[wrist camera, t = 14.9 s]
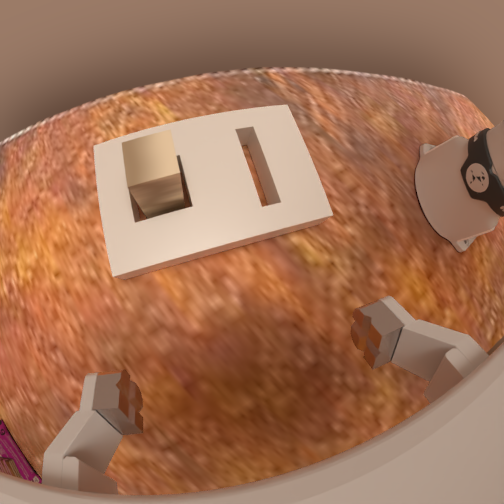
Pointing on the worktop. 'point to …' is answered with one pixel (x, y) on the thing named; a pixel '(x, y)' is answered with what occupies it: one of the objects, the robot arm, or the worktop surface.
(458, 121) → the worktop surface
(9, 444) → the candy bar box
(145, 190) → the square peg
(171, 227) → the socket board
